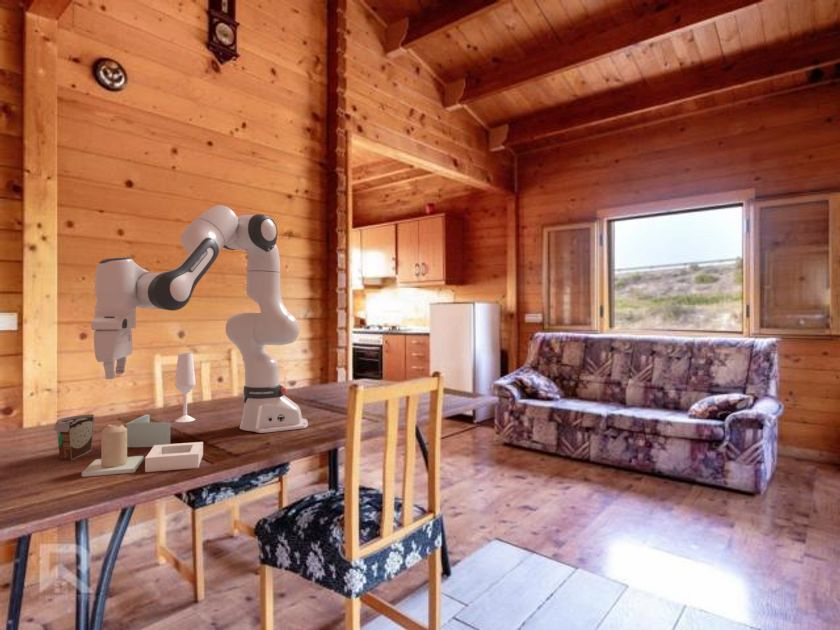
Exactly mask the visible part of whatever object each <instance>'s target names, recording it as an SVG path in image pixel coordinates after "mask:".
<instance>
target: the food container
mask: <svg viewBox="0 0 840 630" xmlns="http://www.w3.org/2000/svg"><path fill="white" fill-rule="evenodd" d="M95 421H96V418H95V414H81V415H79V414H78V415H73V416H67V417H62V418H59V419H57V420H56V422H55V423H54V428H53V431H55V432H56V433H57V445H58V453H59V454H58V455H59V456H58V457H59V459H60V460H61V461H67V462H69V461H70V462H71V461H74V460H76V459H78V458H79V457H81V456H84V455H87V454H88V453H89V452H92V450H93V439H94V438H93V436H94V435H93V434H94V422H95Z"/></svg>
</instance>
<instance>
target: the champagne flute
mask: <svg viewBox="0 0 840 630" xmlns="http://www.w3.org/2000/svg"><path fill="white" fill-rule="evenodd" d="M177 354H178V355H177V362H176V372H175V373H176V374H175V380H174V381H175V383H174V386H175V388H176V389H177V390H178V391H179V392H180V393H182V394H183V403H182V404H183V405H182V407H183V413H182V416H180V417H179V418H177V419H175V420H174V422H175V423H188V422H189V423H190V422H193V421H195V420H196V418H194V417H192V416H190V415H188V393H190V392H191V391H192V390H193V389H194V387H195V386H196V384H197V383H196V374H195V372H196V371H195V364H194V362H195V361H194V353H191V352H182V353H181V352H179V353H177Z"/></svg>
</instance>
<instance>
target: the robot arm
mask: <svg viewBox="0 0 840 630" xmlns="http://www.w3.org/2000/svg"><path fill="white" fill-rule="evenodd" d="M180 237H181V238H180V239H181V244H182V247H183V249H184V250H185V251H186V252H187V254H188V255H187V256H186V257H185V258H184V259H183V260H182V261H181V262H180V264H179V265H178V266H177V267H176V268H174V269H172V270H171V269H170V270H168V271H167V270H166V271H162V272H161V271H159V272H151V271H150V270H147V269H145V268H143V267H142V266H140V265H138V264H137V263H136V262H135V261H134V259H133V258H131V257H125V256H124V257H113V258H112V257H111V258H104V259H102V260H100V261H99V262H98V263H97V265H96V269H95V275H94V276H95V278H94V294H95V297H96V303H95V306H94V316H93V317H94V318H93V319H92V320H91V321H90V325H91V326H90V328H91V330H92V331H93V346H94V347H93V348H94V357H95V360H96V361H97V362H98V363H100V362H101V363H103V369H104V372H105V374H104V375H105V376H104V377H105V379H106V380H114V379H115V378H116V375H123V374H125V372H126V364H127V357H128V356H130V355H132V353H133V333H132V332H133V331H132V329H136V327H137V326H136V325H137V308H139V309H151V310H165V311H170V312H171V311H178V310H181V309H182V308H183V309H184V307H186V306H187V304H189V302H190V300H191V298H192V296H193V293H194V290H195V288H196V286H197V285H198V283H199V282H200V281H201V279H202V278H203V277H204V275H205V274H206V273H207V271H208V270H209V269H210V268H211V266H212V265H213V264H214V262H215V261H216V260H217V258H218V256H219V254H220V250H222V249H225V250H230V251H235V250H236V251H239V250H240V251H245V253H246V255H247V261H246V289H245V292H246V295H247V297H248V298H249V299H251V300H252V301H254V302H255V303H257V305H258V307H259V310H260V312H241V313H238V314H233V315H231V316H230V317H229V318H228V319H227V321H226V323H225V324H226V325H225V334H226V336H227V338H228V340H229V341H230V342H231V343H233V344H234V345H235V346H236V348H237V349H238V350H239V352H240V354H241V357H242V360H243V364H244V386H243V390H242V394H243V395H242V400H243V404H244V405H243V411H242V418H241V421H240V425H239V429H240V430H242V431H247V432H255V433H259V434H262V433H263V434H265V433H273V432H274V433H275V432H282V431H289V430H299V429H300V430H301V429H305V428H307V427H308V426H309V423H308V422H309V421H308V419H306V418H304V417H303V415H302V410H301V408H300V407H299V405H298V404H297V403H295V402H294V401H293V400H291V399H290V398H288V397H287V396H286V395H285V394H286V393H287V392H288V390H287V387H285V386H284V385H281V384H280V364H279V362H278V360H277V359H276V358H275V357H273V356H271V354H269V353H268V351H267V349H266V347H265V346H284V345H289V344H293V343H294V342H295V341H296V340H297V338H298V337H299V335H300V323H299V321H298V319H297V318H296V317H295V316H294V315H293V314H291V312H290V311H289V310H288V309H287V307H286V306H285V304H284V301H283V297H282V289H281V258H280V253H279V251H280V250H279V247H278V246H277V245H278V244H277V239H278V228H277V224H276V223H275V220H274V219H273V218H272V217H271V216H269V215H267V214H261V213H256V214H241V215H240V216H237V214H236V212H235V211H233V209H231V208H230V207H228V206H225V205H221V204H220V205H219V204H218V205H214V206H212V207H211V208H208V209H207V210H205V211H204V212H202V213H201V214H200V215H198V216H197V217H195V218H194V220H192V221H191V222H190V223H189V224H188V225H187V226H186V227H185V229H184V230H183V231H182V233H181V235H180ZM115 365H116V366H115Z"/></svg>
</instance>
